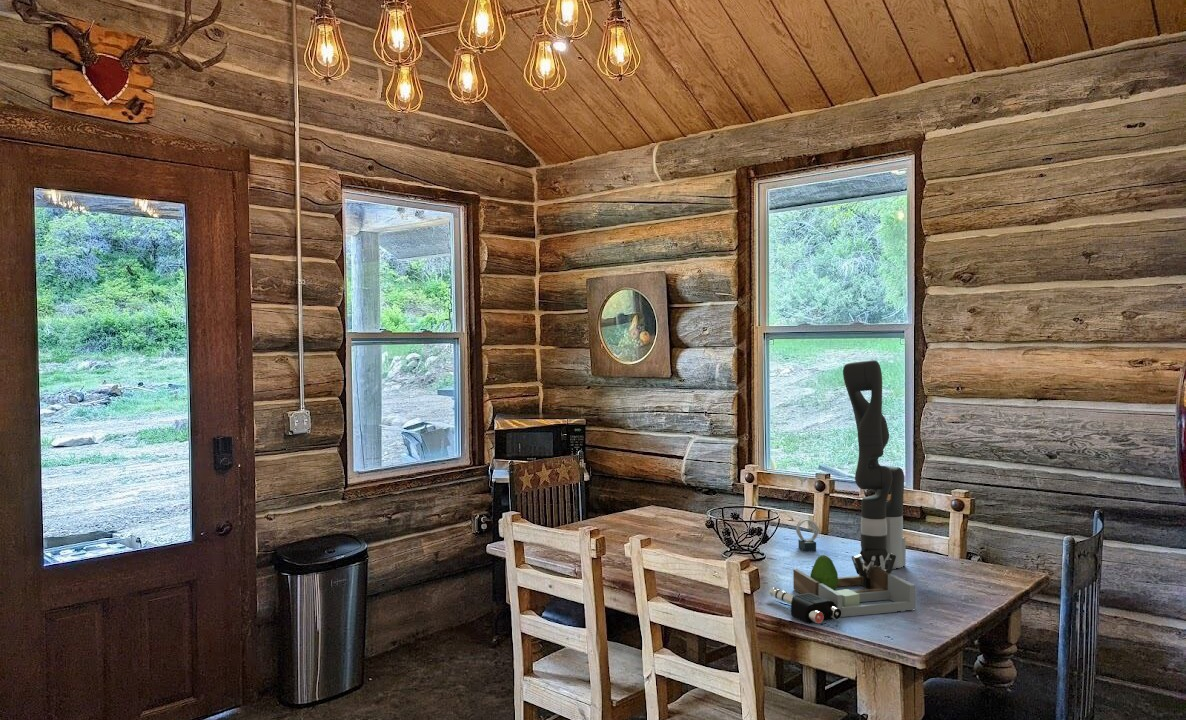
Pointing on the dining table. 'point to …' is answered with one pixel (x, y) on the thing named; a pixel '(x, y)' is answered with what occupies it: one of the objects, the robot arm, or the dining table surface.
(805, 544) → the silver ring on block
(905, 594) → the grey open rectangular frame
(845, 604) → the sage block
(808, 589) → the frame
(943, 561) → the dining table surface
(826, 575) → the avocado
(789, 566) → the dining table surface
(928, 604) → the dining table surface
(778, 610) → the dining table surface
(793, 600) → the audio adapter
